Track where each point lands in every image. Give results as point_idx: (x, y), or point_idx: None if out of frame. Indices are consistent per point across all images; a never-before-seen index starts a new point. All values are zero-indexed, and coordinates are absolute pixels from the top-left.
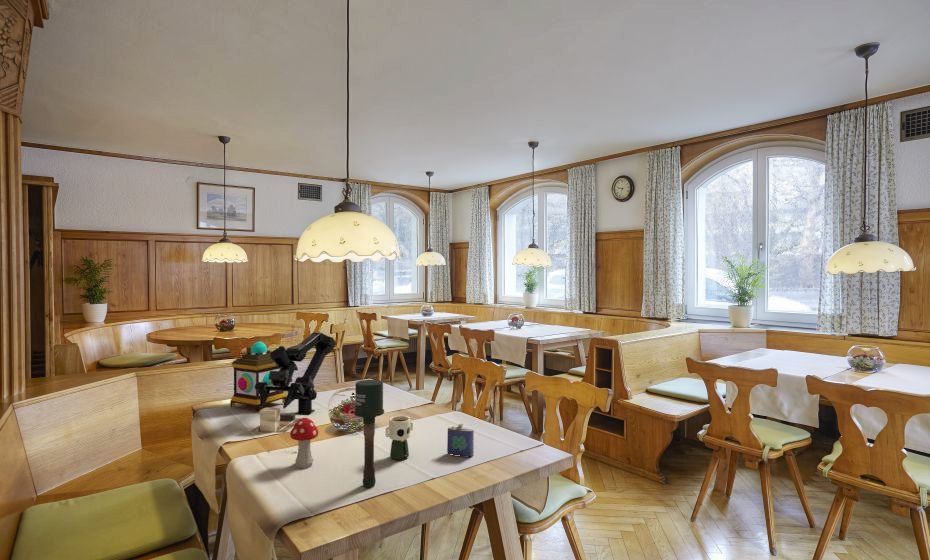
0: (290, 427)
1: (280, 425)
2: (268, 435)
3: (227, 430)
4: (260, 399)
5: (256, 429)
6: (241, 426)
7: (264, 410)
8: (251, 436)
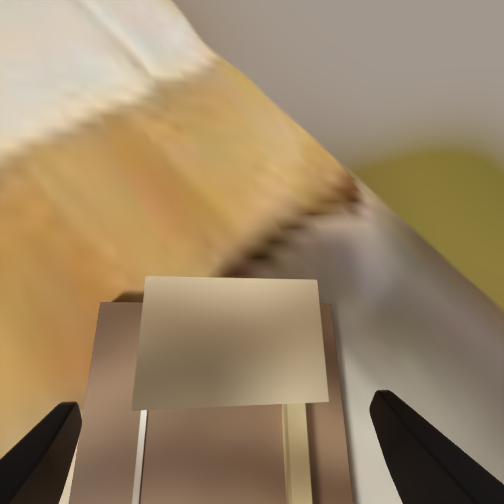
0: (92, 422)
1: (192, 463)
2: None
3: (480, 365)
4: (490, 477)
5: None
6: None
7: (271, 284)
8: None
